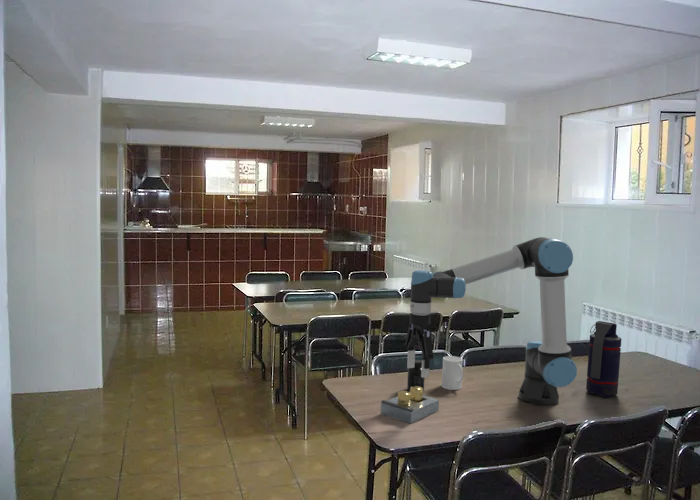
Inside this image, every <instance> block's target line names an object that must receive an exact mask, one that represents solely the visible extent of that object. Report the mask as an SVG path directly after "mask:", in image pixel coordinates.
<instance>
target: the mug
mask: <svg viewBox="0 0 700 500" xmlns="http://www.w3.org/2000/svg"><path fill="white" fill-rule="evenodd" d="M463 363H464V362H463V358H461V357H459V356H455V355H446V356H443V357H442V372H441V384H440V387H441V388H443V389H445V390H449V391H459V390H461V389H462V388H463V386H462V381H463V380H464V371H463Z"/></svg>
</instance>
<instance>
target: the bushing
mask: <svg viewBox="0 0 700 500" xmlns="http://www.w3.org/2000/svg"><path fill="white" fill-rule="evenodd" d="M409 392H410V393H411V401H414V402H418V403H420V402H422V396H423V393H424V391H423V388H422V387H419V386H412V387H410V391H409Z"/></svg>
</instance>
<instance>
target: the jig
mask: <svg viewBox="0 0 700 500" xmlns="http://www.w3.org/2000/svg"><path fill="white" fill-rule="evenodd" d="M439 401H440V399H437V398H433V397H431V396H427V395H423V396H422V402H420V403H418V402H414V401H411V393H410V391H407V390H401V391H398V392H397V396H396V397H392V398H390V399H388V400H385V399H382V400H381V403H380V415H382V416H386V417H389V418H392V419H395V420H398V421H401V422H405V423H408V424H412V423H415V422H417V421H419V420H422V419H423V418H425V417H428V416H430V415H432V414H434V413H436V412H439V404H440V402H439Z"/></svg>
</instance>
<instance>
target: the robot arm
mask: <svg viewBox="0 0 700 500" xmlns="http://www.w3.org/2000/svg"><path fill="white" fill-rule="evenodd" d="M573 261H574V253H573V250H572V249H571V246H569V244H567V243H566V242H565V241H562V240H560V239H558V238H551V237H545V236H544V237H543V236H541V237H536V238H532V239H529V240H527V241H524V242H521V243H519V244H516V245H513V247H512V248H511V249H509V250H506V251H503V252H499V253H497V254H494V255H491V256H487V257H484V258H481V259H479V260H476V261H472V262H469V263H466V264H461V265H459V266H457V267H454V268H451V269H447V270H444V271H435V272H432V271H430V270H420V269H419V270H414V271H413V272H412V273H411V280H410V281H411V282H410V303H409V309H410V311H409V312H410V313H409V323H408V329H407V334H406V338H405V343H404V347H405V348H406V350H407V361H406V363H407V365H406V368H407V369H408V368H414V366H415V360H416V346H417V343H418V342H419V345H420V349H421V354H422V358H421V361H422V370H421V377H422V378H423V377H424V378H429V377H430V364H431V363H430V362H431V360H434V350H433V342H432V341H433V339H432V331H431V330H428V329H427V327H428V326H429V325H430V324H431V319H432V317H431V313H432V298H435V299H436V298H440V299H442V298H444V299H462V298H464V297H465V296H466V295H465V294H466V289H467V288H466V287H467V286H468V285H469V284H473V283H476V282H478V281H482V280H485V279H488V278H492V277H494V276H498V275H500V274H503V273H506V272H509V271H513V270H516V269H520V270H525V269H529V268H534V276H535V278H536V279H538V282H539V299H540V321H541V323H540V324H541V340H531V341H528V342H526V347H525V361H524V377H523V380H522V383H521V385H520V388H519V390H518V398H519V399H520V400H522V401H524V402H527V403H529V404H533V405H540V406H553V405H556V404H558V403H559V402H560V394H559V391H558V388H564V387H567V386H569V385H570V384H571V383H572V382H574V380H575V379H576V377H577V373H578V367H577V365H576V364H575V361H574V360H573V358H572V356H573V355H572V348H571V346H570V345H568V344H567V341H568V340H567V319H566V316H567V315H566V314H567V313H566V294H565V293H566V292H565V291H566V290H565V288H566V287H565V285H566V284H565V280H566V279H567V278H568V277H569V269H570V267H571V266H572V264H573Z"/></svg>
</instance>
